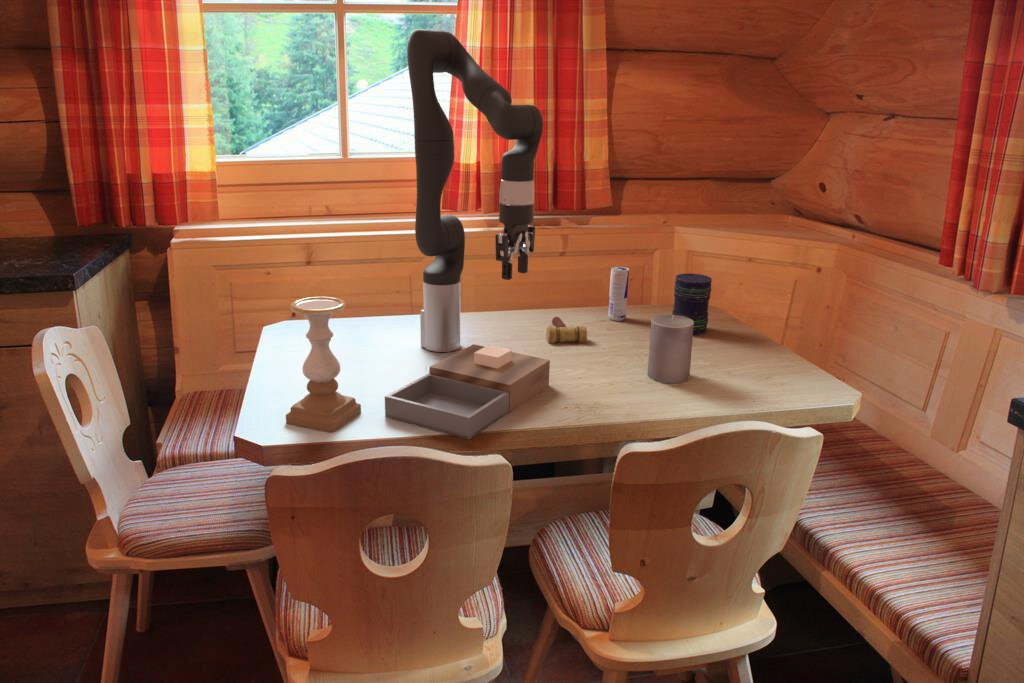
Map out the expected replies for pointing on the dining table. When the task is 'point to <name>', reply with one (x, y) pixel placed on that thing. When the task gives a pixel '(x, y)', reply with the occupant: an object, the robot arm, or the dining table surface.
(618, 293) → the beverage can
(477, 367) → the brown wooden box
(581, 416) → the dining table surface
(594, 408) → the dining table surface
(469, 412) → the box
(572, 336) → the gavel
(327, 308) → the candle holder
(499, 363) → the tile
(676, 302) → the storage jar
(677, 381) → the pillar candle
